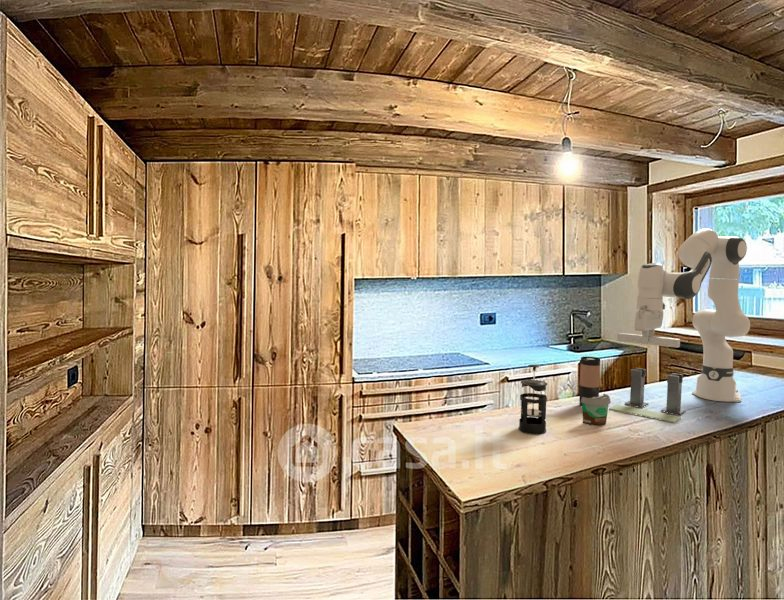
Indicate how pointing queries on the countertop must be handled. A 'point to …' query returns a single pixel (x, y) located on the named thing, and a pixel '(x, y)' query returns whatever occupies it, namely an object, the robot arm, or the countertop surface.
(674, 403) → the posts
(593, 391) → the travel mug
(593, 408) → the food container
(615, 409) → the mat
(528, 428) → the french press
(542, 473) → the countertop surface
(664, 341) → the rail
